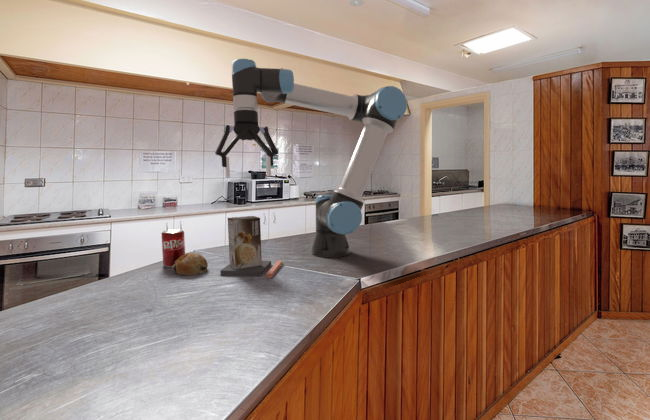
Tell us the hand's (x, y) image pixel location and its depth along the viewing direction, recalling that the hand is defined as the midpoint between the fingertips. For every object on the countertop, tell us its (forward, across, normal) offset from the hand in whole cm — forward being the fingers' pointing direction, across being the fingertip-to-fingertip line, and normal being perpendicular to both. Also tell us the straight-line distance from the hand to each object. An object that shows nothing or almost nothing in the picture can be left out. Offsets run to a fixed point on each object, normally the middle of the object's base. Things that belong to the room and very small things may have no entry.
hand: (248, 177), depth 116 cm
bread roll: (+31, +20, -5) cm, 37 cm away
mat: (+31, +3, +2) cm, 31 cm away
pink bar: (+31, -5, +7) cm, 32 cm away
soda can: (+30, +24, -16) cm, 42 cm away
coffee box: (+29, +3, +2) cm, 29 cm away
